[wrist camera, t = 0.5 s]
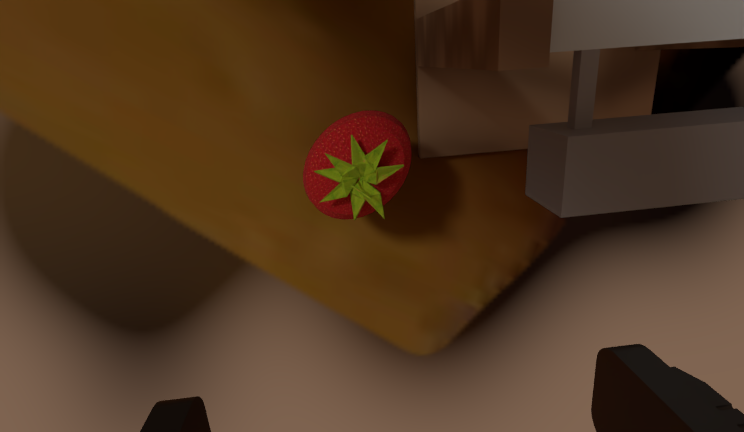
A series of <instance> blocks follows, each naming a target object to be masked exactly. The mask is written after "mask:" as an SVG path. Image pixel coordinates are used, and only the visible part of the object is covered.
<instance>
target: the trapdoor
mask: <svg viewBox="0 0 744 432" xmlns="http://www.w3.org/2000/svg"><path fill="white" fill-rule="evenodd" d="M730 39H744V0H553V15H552V29H551V43H550V52H563V51H574V55H573V66H572V78H571V89H570V101H569V112H568V122H558V123H547V124H535V125H529V138H528V155H527V173H526V190H525V195H527V196H528V197H530V198H531V199H533V200H534V201H536V202H538V203H539V204H541V205H542V206H544V207H545V208H547V209H548V210H550V211H551V212H553V213H554V214H556V215H557V216H559V217H560V218H564V217H573V216H583V215H593V214H602V213H611V212H621V211H630V210H639V209H650V208H659V207H669V206H678V205H688V204H698V203H707V202H717V201H726V200H736V199H744V107H733V108H721V109H711V110H698V111H686V112H675V113H663V114H651V115H640V116H628V117H617V118H605V119H593V112H594V102H595V93H596V84H597V74H598V65H599V56H600V49H605V48H619V47H633V46H647V45H661V44H675V43H689V42H702V41H716V40H730Z"/></svg>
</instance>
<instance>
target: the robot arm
mask: <svg viewBox="0 0 744 432" xmlns="http://www.w3.org/2000/svg"><path fill="white" fill-rule="evenodd" d="M591 412H592V419H593V423H594V426H595V429H596V432H744V414H743V413H742V412H740V411H739V410H738V409H733V408H732V404H731V403H729V402H728V401H727V400H725V398H723V397H722V396H721V395H719V393H717V392H716V391H715V390H713V389H712V388H711V387H710V386H709V385H708V384H706V383H705V382H703V381H701V380H699V379H697V378H695V377H693V376H691V375H689V374H687V373H686V372H684V371H682V370H680V369H678V368H676V367H669V366H668V365H667V364H665V363H664V362H663V361H662V360H661V359H660V358H659V357H657V356H656V355H655V354H654V353H653V352H652V351H651V350H649V349H648V348H647V347H645V346H643V345H640V344H634V345H626V346H618V347H610V348H603V349H601V350H600V351H599V352H598V355H597V360H596V369H595V379H594V389H593V398H592V408H591ZM140 432H211V430H210V426H209V422H208V418H207V414H206V410H205V406H204V402H203V400H202V399H201V398H200V397H190V398H182V399H174V400H165V401H159V402H157V403H156V404H155V406H154V407H153V409H152V410H151V412H150V414H149V416H148V418H147V420H146V422H145V424H144V426H143V427H142V429H141V431H140Z"/></svg>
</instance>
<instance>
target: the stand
mask: <svg viewBox="0 0 744 432" xmlns="http://www.w3.org/2000/svg"><path fill="white" fill-rule="evenodd" d="M552 15H553V0H414V20H415V54H416V88H417V121H418V155H419V158H431V157H442V156H453V155H464V154H475V153H486V152H497V151H508V150H519V149H528V138H529V125H535V124H547V123H558V122H568V112H569V101H570V89H571V78H572V66H573V55H574V51H563V52H550V43H551V29H552ZM726 47H744V39H730V40H716V41H702V42H689V43H675V44H661V45H647V46H633V47H619V48H605V49H600V56H599V65H598V74H597V84H596V93H595V102H594V112H593V119H605V118H617V117H628V116H640V115H651V111H652V104H653V98H654V91H655V85H656V78H657V71H658V65H659V58H660V52H661V50H666V49H696V48H726Z"/></svg>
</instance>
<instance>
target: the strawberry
mask: <svg viewBox="0 0 744 432" xmlns="http://www.w3.org/2000/svg"><path fill="white" fill-rule="evenodd" d="M410 164H411V143H410V138H409V135H408V133H407V130H406V129H405V127H404V126H403V125H402V123H401V122H400V121H399V120H397V119H396V118H395V117H394V116H391V115H389V114H387V113H385V112H380V111H361V112H356V113H353V114H350V115H348V116H345V117H343V118H341V119H340V120H338V121H336V122H335V123H333V124H332V125H331V126H329V127H328V128H327V129H326V130H325V131H324V132H323V133H322V134H321V135H320V136H319V137H318V139H317V140H316V141H315V143H314V144H313V146H312V148H311V149H310V151H309V154H308V156H307V159H306V161H305V166H304V171H303V183H304V187H305V191H306V194H307V196H308V198H309V200H310V201H311V202H312V203H313V204H314V205H315V207H316V208H317V209H318V210H319V211H321V212H322V213H324V214H325V215H328V216H330V217H333V218H338V219H354V220H356V218H359V217H363V216H365V215H368V214H370V213H373V212H374V211H377V212H378V213H379V214H380V215H381V216H382V217H383V218H384V219H385V216H384V210H383V206H384V205H385V204H386V203H387V202H388V201H390V200H391V199H392V198H393V196H394V195H395V194H396V193H397V192H398V191H399V189H400V188H401V186H402V185H403V183H404V181H405V179H406V177H407V174H408V172H409V168H410Z"/></svg>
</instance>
